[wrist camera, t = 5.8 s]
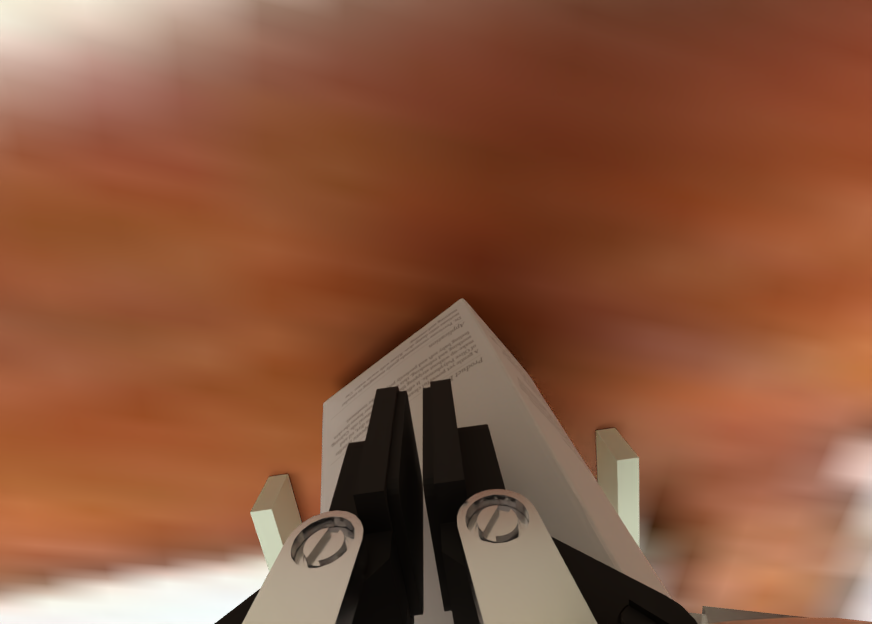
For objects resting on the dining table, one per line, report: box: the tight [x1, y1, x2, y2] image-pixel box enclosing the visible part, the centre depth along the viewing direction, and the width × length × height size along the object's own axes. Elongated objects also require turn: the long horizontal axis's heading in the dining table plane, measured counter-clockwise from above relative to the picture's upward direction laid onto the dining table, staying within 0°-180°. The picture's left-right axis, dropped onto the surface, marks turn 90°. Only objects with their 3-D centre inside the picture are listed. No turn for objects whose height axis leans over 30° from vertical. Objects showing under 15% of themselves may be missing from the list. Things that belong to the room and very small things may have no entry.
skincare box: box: [320, 298, 673, 624], centre depth 13 cm, size 8×7×16 cm
